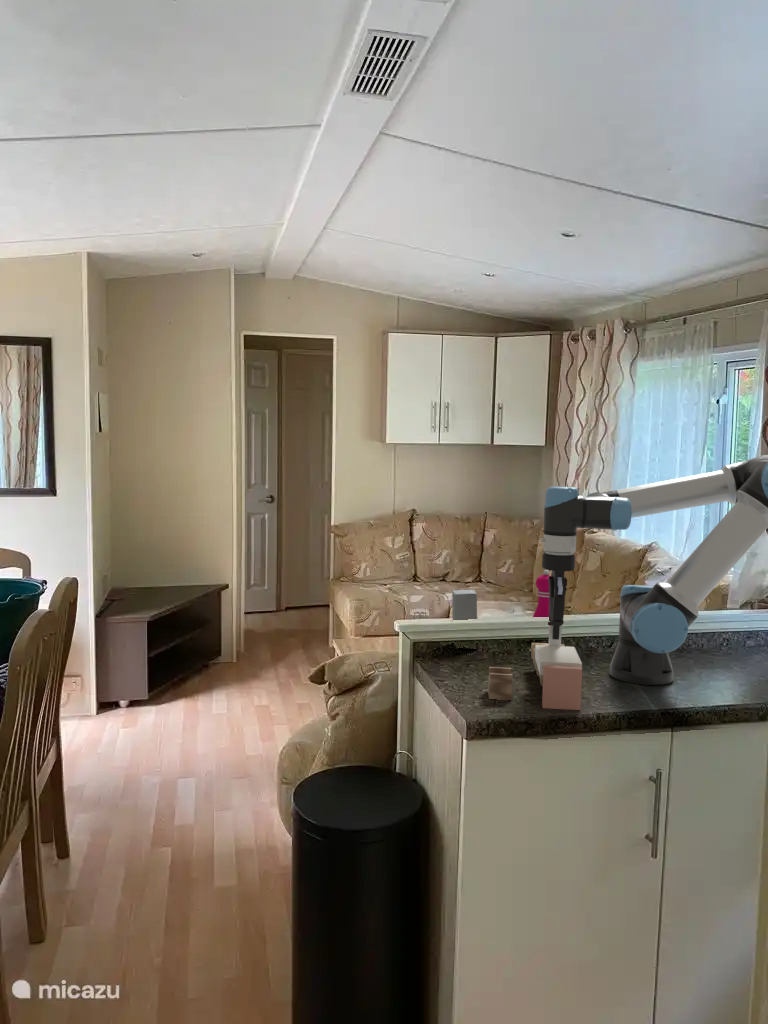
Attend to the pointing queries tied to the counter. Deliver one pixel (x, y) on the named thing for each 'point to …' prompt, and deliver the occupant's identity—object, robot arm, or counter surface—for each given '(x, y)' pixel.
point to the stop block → (562, 687)
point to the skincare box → (464, 604)
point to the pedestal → (500, 683)
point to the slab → (556, 656)
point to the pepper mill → (542, 595)
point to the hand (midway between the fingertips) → (554, 651)
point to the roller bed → (534, 654)
